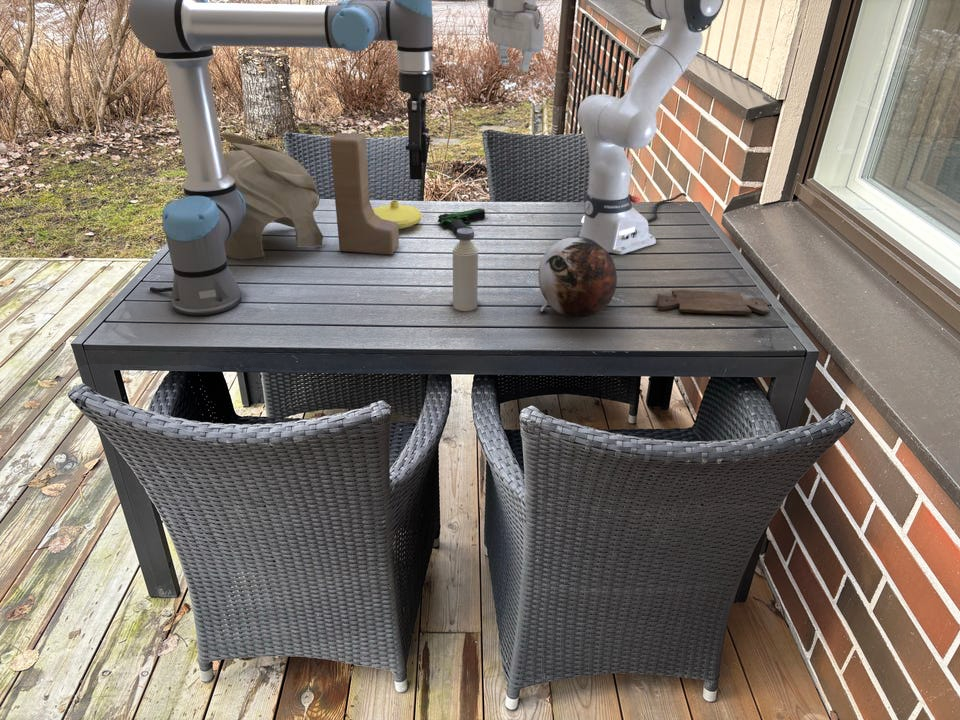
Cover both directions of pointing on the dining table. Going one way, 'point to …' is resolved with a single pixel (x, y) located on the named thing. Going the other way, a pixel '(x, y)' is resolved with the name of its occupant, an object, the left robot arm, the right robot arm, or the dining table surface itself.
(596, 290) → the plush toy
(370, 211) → the decorative block
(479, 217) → the handgun
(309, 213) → the helmet
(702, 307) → the dark wooden board
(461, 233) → the cap
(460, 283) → the bottle
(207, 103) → the left robot arm
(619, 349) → the dining table surface
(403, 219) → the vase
